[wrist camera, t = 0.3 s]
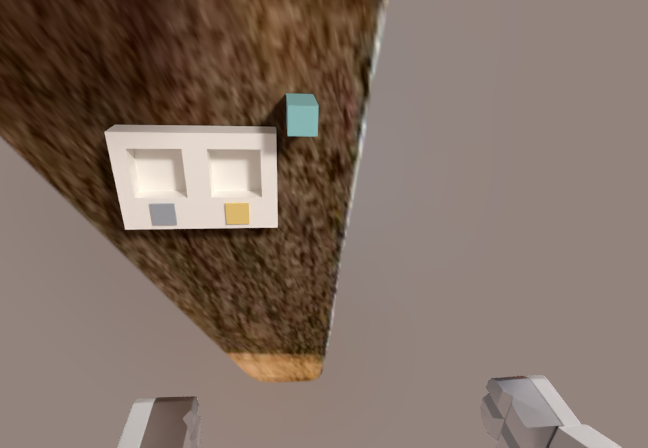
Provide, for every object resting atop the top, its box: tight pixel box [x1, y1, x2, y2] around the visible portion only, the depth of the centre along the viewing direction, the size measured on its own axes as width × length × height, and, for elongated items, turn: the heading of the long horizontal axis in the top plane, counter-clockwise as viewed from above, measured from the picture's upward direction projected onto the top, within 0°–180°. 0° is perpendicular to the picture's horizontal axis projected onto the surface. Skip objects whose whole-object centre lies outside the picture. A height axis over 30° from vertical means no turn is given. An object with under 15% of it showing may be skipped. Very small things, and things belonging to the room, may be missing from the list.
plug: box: [286, 93, 318, 136], centre depth 48 cm, size 3×3×8 cm
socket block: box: [105, 125, 278, 230], centre depth 53 cm, size 13×20×4 cm, turn 88°
